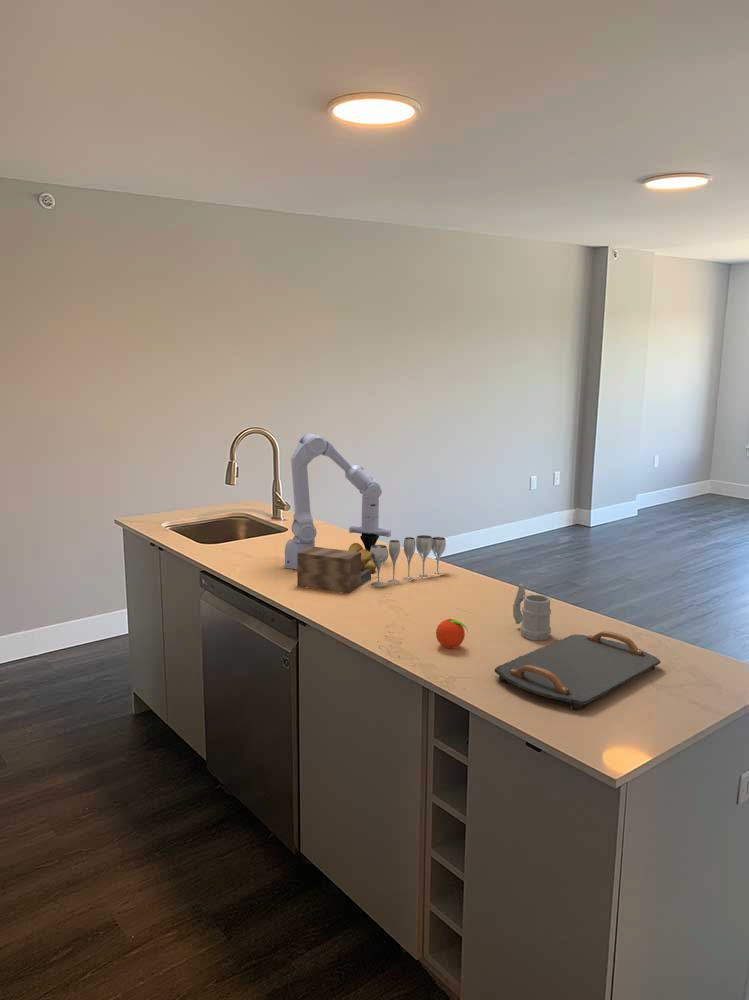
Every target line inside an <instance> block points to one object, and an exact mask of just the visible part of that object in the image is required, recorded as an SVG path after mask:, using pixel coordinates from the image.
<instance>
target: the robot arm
mask: <svg viewBox="0 0 749 1000" xmlns="http://www.w3.org/2000/svg"><path fill="white" fill-rule="evenodd" d="M297 441H298V443H297V446H296V448H295V450H294V451H293V453H292V455H291V458H290V462H291V463H290V464H291V476H292V478H291V479H292V490H293V491H292V492H293V503H294V514H293V520H292V524H291V532H292V534H293V535H294V536H293V538H292V539H291V538H290V539H288V540H287V541H286V543H285V545H284V565H283V568H284V569H285V568H286V569H292V570H297V553H298V552H300V551H302V550H304V549H307V548H309V547H311V546H313V547H316V546H315V545H316V542H315V540H316V539H315V538H316V537H317V534H318V533H317V528H316V527H315V525H314V520H313V516H312V514H311V502H310V490H309V489H310V488H309V487H310V486H309V473H308V465H309V463H311V462H312V461H313V460H314V459H315V458H317V457H319V456H321V455H322V456H325V457H328V458H329V459H331V461H333V463H335V464H336V465H337V466H338V467H339V468H341V469H342V470H343V471H344V473H345V479H347V481H348V482H350V484H352V485H353V486H354V487H355V489H357V490H358V491H359V492H360V493H359V494H361V526H354V525H353V526H349V531H348V533H349V534H361V535H360V537H359V538H360V540H361V541H362V543H363V544H362V545H363V546H364V549H365V550H368V551H369V552H370V549H371V546H372V545H377V542H378V539H379V537H381V536H382V537H385V538H390V537H391V536H392V530H390V529H389V530H388V529H384V528H379V523H380V522H379V516H380V514H379V513H380V510H379V509H380V508H379V507H380V501H379V500H380V497H381V495H382V493H383V490H382V488H381V485H380V484H379V483H378V482H375V481H373V479H374V477H373V476H371V475H369V474H368V473H367V472H365V469H364V468H365V467H363V466H362V465H357V464H352V463H351V462H350V461H349V460H348V459H347V458H346V457H345V456H344V455H343V454H342V453H341V452H340V451H339V450H338V449H337V448H336V447H335V445H333V444H332V443H331V442H329V441H328V440H326V438H324V437H323V436H321V435H317V434H315V433H313V432H308V433H305V434H304V435H303V436H302V437H300V439H299V440H297Z"/></svg>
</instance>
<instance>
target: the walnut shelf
mask: <svg viewBox="0 0 749 1000" xmlns="http://www.w3.org/2000/svg"><path fill="white" fill-rule="evenodd" d="M296 570H297V571H296V573H297V576H296V577H297V579H296V580H297V583H296V584H297V587H298V586H300V588H305V587H308V588H307V589H312V588H314V590H319V589H320V591H326V590H327V591H326V592H333V591H334V593H339V592H342V593H341V594H346V593H348V594H347V595H349V594H350V593H352V592H354V591H355V590H357V589H358V588H360V587H361V586H363V585H364V584H366V583H367V582H369V581H370V580H371V579H372V572H371V570H369V569H367V570H365V571H363V572H361V552H354V551H348V550H346V549H345V550H344V549H337V548H328V547H320V546H315V547H313V546H311V547H309V548H307V549H304V550H302V551H300V552H298V553H297V569H296Z"/></svg>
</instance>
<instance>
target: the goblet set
mask: <svg viewBox="0 0 749 1000" xmlns="http://www.w3.org/2000/svg"><path fill="white" fill-rule="evenodd" d="M446 540H447V539H446V538H445V537H441V536H434V537H432V536H431V535H425V534H424V535H422V534H421V535H417V536H416V540H415V537H409V536H407V537H404V539H403V552H404V555H405V557H406V559H407V568H408V569H407V571H408V573H407V576H406V577H402V580H403V579H404V580H403V581H405V580H407V581H406V582H410V581H409V580H413V578H414V577H410V566H411V561H412V558H413V556H414V554H415V551H416V550H417V553H418V554H419V556H420V558H421V561H422V574H423V575H421V574H418V575H419V577H421V578H423V577H428V574H425V564H426V563H425V561H426V559H427V557H428V556H429V554H431V552H432V553H433V555H434V556H435V559H436V571H435V573H434V574H438V575H439V574H441V573H442V572H441V573H439V561H440V558H441V557H442V555H443V554H444V552H445V550H446V546H447V541H446ZM400 552H401V543H400V540H398V539H391V540H389V543H388V547H387V545H384V544H375V545H372V546H371V549H370V553H369V555H370V559H371V560H372V561H373V562H374V563H375V565H376V569H377V581H374V582H371V583H370V585H371V586H372V587H385V586H386V585H387V584H386V583H385V582H382V581H380V570H381V567H382V566H383V564H384V563H385V562H386V561H387V560H388V558H389V556H390V559H391V562H392V569H393V570H392V571H393V572H392V574H393V576H392V579H389V580H387V583H388V582H389V584H393V583H395V584H399V583H401V581H400V580H398V579H395V569H396V562H397V561H398V558H399V555H400ZM421 578H420V579H421ZM413 581H414V580H413Z"/></svg>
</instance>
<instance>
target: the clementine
mask: <svg viewBox="0 0 749 1000" xmlns="http://www.w3.org/2000/svg"><path fill="white" fill-rule="evenodd" d="M464 628H465V629H466V631H467V632H469V631H468V628H467V626H466V625H465V624H464V623H463V622H461V621H459V620H456V619H454V618H448V619H444V620H443V621H441V622H440V623H439V624H438V625H437V628H436V631H435V637H436V640H437V642H438V643H439V644H440V645H441V646H442V647H444V648H447V649H456V648H458V647H459V646H461V644H462V643H463V641H464V639H465V637H466V635H465V634H466V633H465V629H464Z"/></svg>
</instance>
